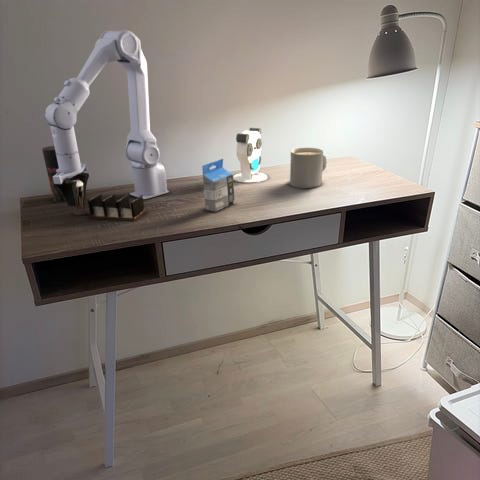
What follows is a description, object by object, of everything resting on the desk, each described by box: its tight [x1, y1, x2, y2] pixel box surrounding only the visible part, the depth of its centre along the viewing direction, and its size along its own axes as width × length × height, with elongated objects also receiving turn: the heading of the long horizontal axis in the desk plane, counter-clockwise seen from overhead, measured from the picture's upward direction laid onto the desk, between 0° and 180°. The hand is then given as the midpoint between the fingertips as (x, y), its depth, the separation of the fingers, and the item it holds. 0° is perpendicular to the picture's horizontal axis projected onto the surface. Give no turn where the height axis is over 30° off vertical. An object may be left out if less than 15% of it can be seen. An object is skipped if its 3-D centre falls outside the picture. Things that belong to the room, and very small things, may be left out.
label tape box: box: [201, 158, 235, 213], centre depth 141 cm, size 9×4×12 cm, turn 143°
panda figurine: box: [233, 127, 268, 184], centre depth 165 cm, size 12×11×15 cm
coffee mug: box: [289, 147, 328, 189], centre depth 160 cm, size 13×10×10 cm
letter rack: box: [87, 192, 146, 222], centre depth 139 cm, size 13×7×5 cm, turn 76°
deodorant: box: [41, 145, 67, 203], centre depth 152 cm, size 6×6×15 cm
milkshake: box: [71, 180, 87, 216], centre depth 141 cm, size 5×5×10 cm
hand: (77, 202), depth 142 cm, fingers closed on milkshake, 4 cm apart
